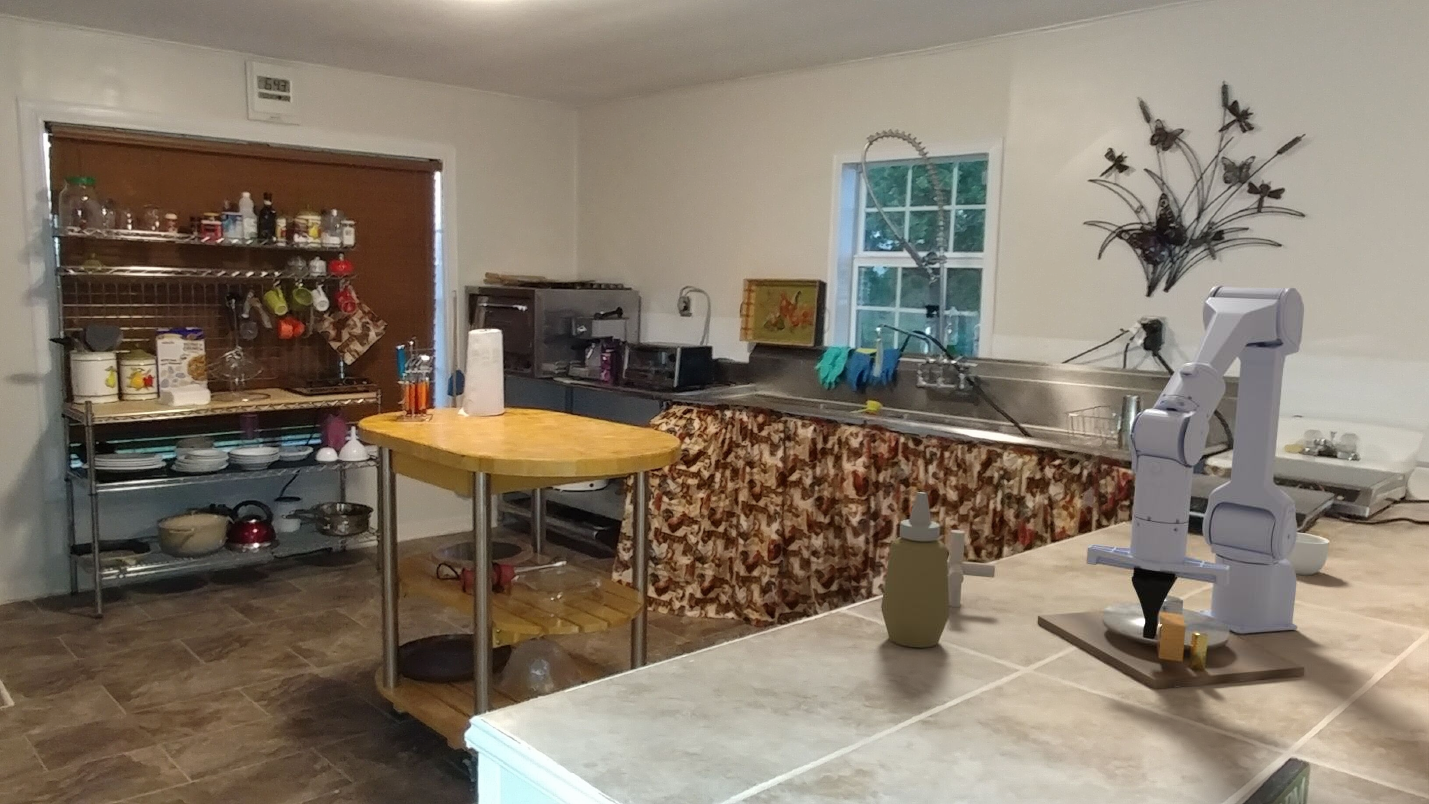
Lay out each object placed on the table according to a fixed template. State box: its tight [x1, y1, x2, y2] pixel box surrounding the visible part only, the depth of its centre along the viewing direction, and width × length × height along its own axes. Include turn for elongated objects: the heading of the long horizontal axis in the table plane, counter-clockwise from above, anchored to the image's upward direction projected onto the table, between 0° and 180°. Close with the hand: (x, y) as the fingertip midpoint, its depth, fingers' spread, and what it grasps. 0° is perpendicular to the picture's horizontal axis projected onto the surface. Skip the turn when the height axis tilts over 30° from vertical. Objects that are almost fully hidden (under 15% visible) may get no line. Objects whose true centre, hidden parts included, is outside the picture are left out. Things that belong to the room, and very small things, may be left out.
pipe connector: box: [947, 529, 996, 608], centre depth 139 cm, size 10×10×10 cm
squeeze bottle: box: [880, 491, 950, 649], centre depth 124 cm, size 8×8×18 cm
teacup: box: [1286, 531, 1330, 576], centre depth 164 cm, size 10×8×5 cm
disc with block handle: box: [1102, 595, 1231, 661], centre depth 123 cm, size 18×14×4 cm
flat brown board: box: [1037, 610, 1305, 690], centre depth 125 cm, size 20×22×2 cm
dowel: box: [1189, 632, 1208, 672], centre depth 116 cm, size 2×2×4 cm
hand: (1149, 636), depth 117 cm, fingers closed
